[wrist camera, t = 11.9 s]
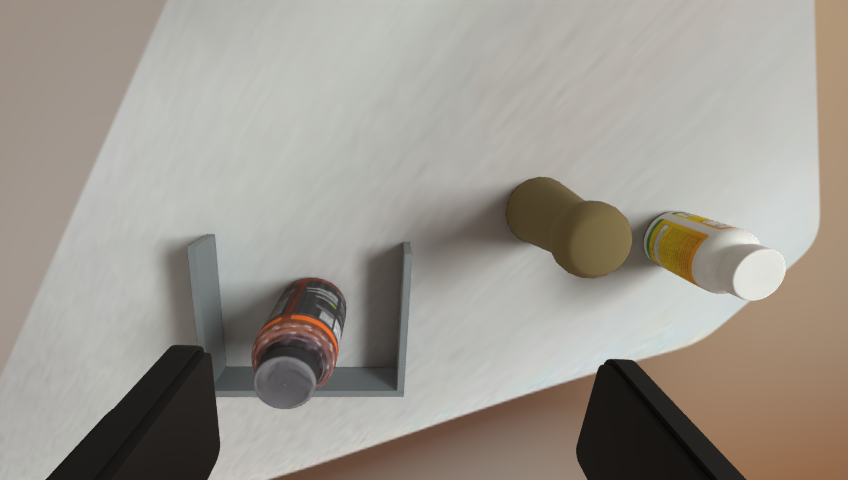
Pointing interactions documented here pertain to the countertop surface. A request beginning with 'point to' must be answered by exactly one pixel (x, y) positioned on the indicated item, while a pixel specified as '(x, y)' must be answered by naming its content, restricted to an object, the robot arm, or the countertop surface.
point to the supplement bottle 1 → (299, 343)
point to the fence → (241, 378)
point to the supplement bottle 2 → (714, 255)
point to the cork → (570, 227)
